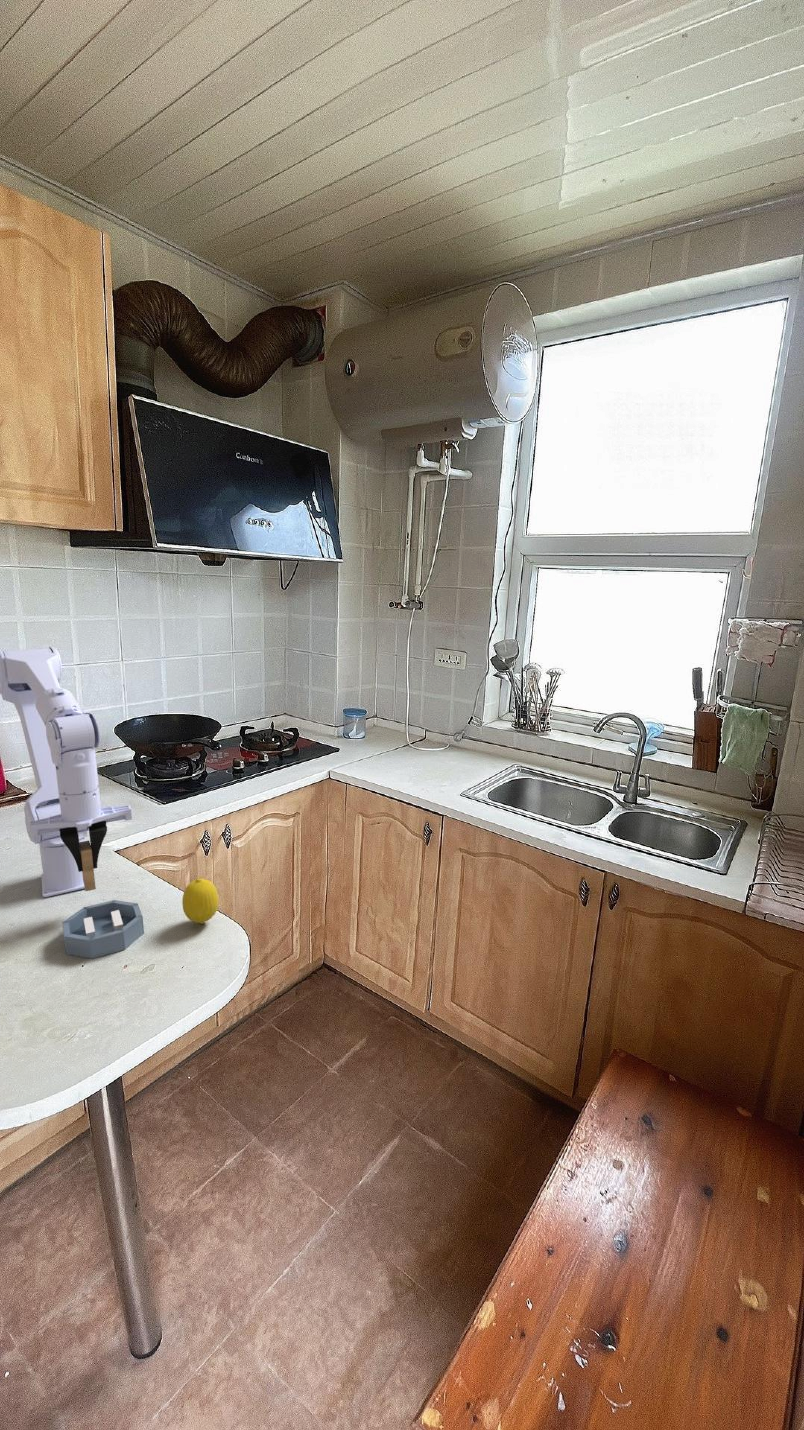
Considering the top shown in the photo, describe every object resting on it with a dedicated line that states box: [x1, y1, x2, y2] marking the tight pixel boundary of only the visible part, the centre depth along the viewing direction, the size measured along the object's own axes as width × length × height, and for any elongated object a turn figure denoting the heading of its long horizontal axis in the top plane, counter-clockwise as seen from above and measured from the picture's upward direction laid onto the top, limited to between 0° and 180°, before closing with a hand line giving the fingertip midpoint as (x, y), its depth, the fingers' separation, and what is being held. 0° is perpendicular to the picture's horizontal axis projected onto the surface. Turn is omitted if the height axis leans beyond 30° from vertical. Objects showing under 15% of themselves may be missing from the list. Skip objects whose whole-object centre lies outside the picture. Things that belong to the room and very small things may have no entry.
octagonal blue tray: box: [61, 899, 145, 960], centre depth 94 cm, size 11×11×3 cm
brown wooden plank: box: [79, 839, 97, 892], centre depth 99 cm, size 4×2×7 cm, turn 31°
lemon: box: [181, 877, 219, 925], centre depth 98 cm, size 6×6×8 cm
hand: (87, 867), depth 99 cm, fingers closed on brown wooden plank, 1 cm apart
